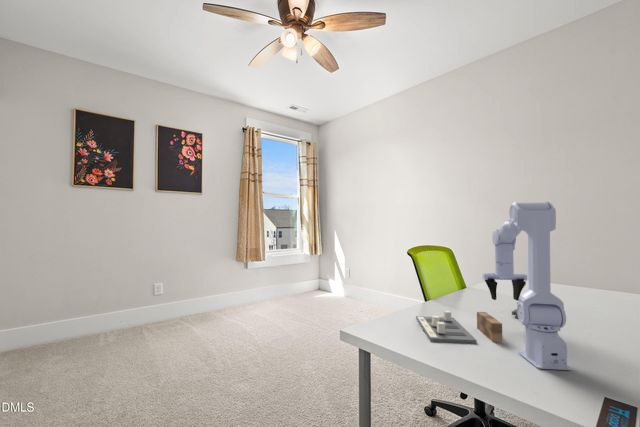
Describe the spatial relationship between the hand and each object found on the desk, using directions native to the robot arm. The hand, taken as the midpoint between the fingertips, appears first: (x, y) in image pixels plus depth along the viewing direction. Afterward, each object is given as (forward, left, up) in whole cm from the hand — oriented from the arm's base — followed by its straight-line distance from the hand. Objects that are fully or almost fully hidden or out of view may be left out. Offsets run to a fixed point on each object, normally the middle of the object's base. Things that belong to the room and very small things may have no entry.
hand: (504, 299), depth 109 cm
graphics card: (+14, -15, -10) cm, 23 cm away
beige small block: (-13, +26, -8) cm, 31 cm away
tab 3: (0, +21, -8) cm, 22 cm away
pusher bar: (-10, +10, -10) cm, 17 cm away
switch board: (-7, +24, -9) cm, 27 cm away
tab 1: (-7, +26, -8) cm, 29 cm away
